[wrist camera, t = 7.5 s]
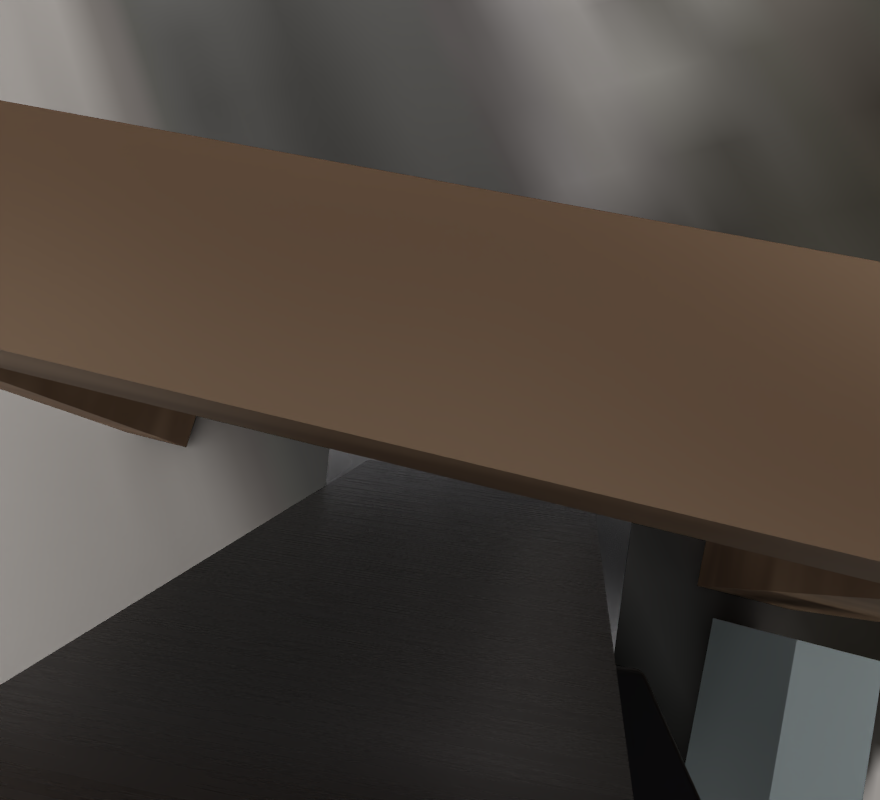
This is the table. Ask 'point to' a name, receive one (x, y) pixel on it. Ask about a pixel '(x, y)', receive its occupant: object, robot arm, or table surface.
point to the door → (781, 719)
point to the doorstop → (349, 660)
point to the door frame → (456, 340)
